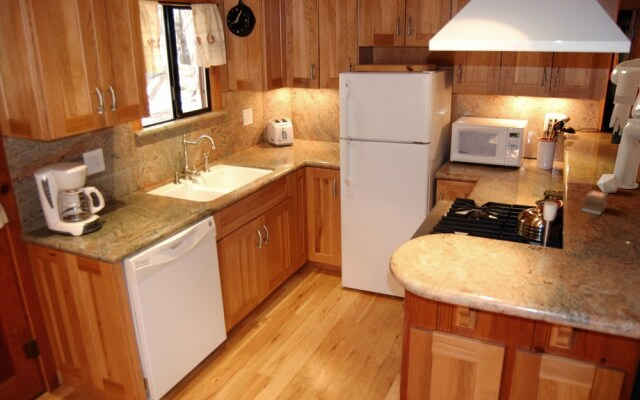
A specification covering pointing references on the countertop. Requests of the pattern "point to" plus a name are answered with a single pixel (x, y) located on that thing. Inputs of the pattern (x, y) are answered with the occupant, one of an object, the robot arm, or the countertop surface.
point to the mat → (593, 211)
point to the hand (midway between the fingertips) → (615, 143)
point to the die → (609, 183)
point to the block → (595, 200)
